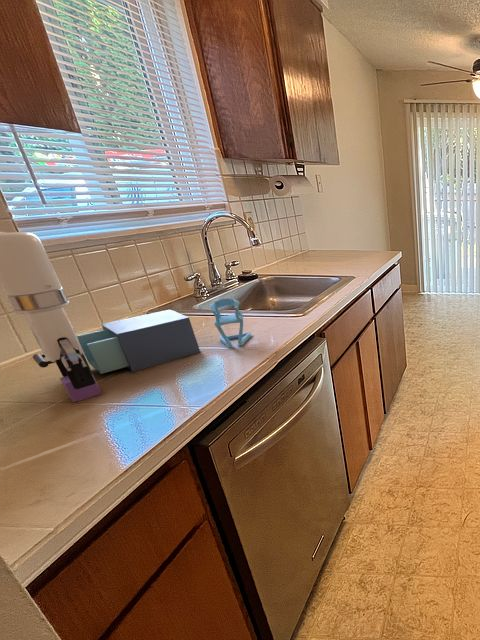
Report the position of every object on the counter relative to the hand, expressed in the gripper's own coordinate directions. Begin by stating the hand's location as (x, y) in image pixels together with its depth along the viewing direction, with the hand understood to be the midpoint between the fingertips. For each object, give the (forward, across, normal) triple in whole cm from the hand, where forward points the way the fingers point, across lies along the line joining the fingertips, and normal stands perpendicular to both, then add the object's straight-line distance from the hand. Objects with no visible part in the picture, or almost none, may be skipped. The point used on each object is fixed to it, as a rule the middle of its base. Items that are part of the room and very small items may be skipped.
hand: (79, 380), depth 83 cm
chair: (+4, -5, +33) cm, 33 cm away
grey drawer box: (+4, -12, +17) cm, 21 cm away
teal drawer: (+3, -12, +6) cm, 14 cm away
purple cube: (+4, 0, 0) cm, 4 cm away
